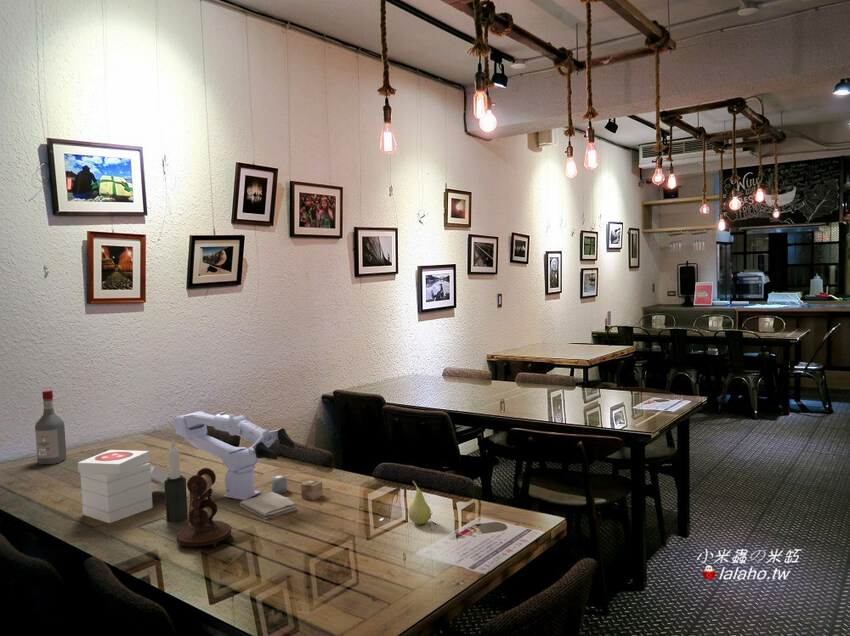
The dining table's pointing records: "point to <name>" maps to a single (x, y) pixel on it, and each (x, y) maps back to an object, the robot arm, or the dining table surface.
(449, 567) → the dining table surface
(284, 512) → the washcloth
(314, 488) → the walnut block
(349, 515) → the dining table surface
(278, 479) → the slate cylinder
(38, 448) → the liquor
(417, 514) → the fruit
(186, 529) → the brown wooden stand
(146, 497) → the pizza boxes
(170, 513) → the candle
